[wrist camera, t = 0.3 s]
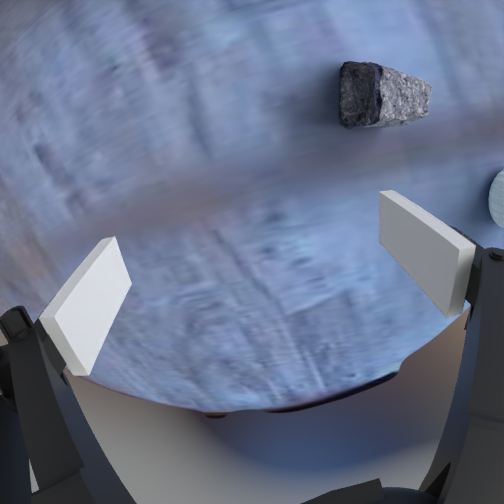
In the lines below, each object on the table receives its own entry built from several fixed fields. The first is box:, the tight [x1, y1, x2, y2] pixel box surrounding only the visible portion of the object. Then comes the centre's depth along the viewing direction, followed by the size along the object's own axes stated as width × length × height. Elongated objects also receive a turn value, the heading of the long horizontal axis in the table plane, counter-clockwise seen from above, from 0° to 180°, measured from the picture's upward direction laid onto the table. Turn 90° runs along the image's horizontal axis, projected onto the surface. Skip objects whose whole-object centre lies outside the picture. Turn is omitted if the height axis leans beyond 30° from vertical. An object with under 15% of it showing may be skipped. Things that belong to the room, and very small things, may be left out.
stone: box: [339, 61, 432, 129], centre depth 33 cm, size 12×10×10 cm
